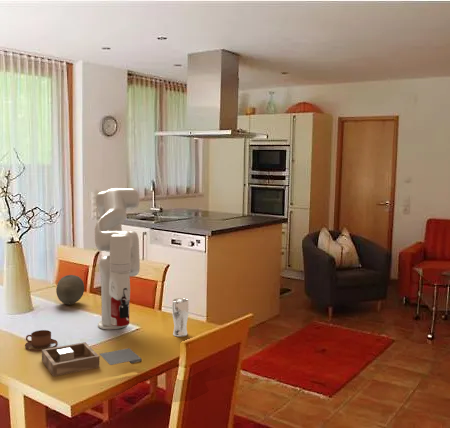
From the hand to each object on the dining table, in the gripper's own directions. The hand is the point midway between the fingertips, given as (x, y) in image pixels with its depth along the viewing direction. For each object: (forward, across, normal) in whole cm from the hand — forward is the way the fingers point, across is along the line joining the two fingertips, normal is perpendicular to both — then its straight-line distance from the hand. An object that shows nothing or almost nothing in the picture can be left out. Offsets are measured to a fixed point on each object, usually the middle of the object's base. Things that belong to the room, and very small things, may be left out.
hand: (120, 314), depth 191 cm
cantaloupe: (+17, -79, +4) cm, 81 cm away
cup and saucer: (+17, -25, -23) cm, 38 cm away
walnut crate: (+17, -2, -18) cm, 25 cm away
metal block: (+16, -5, -19) cm, 25 cm away
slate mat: (+17, 0, 0) cm, 17 cm away
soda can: (+4, 0, 0) cm, 4 cm away
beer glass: (+17, -13, +32) cm, 39 cm away
